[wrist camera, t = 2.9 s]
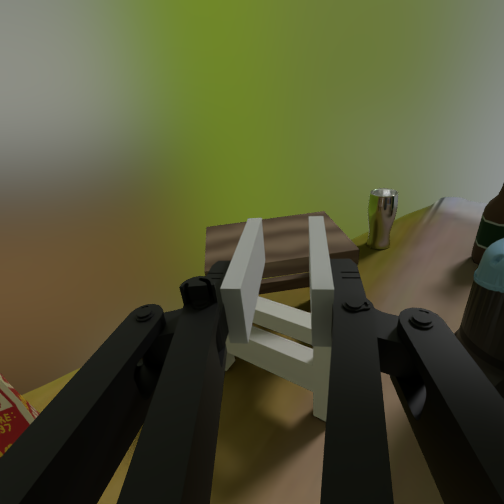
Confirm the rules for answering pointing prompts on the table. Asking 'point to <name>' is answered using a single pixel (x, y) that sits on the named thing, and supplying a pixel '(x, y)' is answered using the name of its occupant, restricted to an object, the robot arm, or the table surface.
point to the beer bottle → (490, 226)
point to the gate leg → (286, 350)
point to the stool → (280, 248)
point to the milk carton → (13, 415)
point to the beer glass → (381, 217)
